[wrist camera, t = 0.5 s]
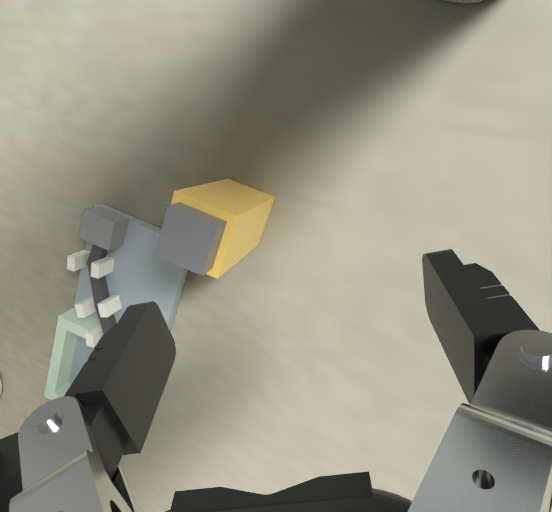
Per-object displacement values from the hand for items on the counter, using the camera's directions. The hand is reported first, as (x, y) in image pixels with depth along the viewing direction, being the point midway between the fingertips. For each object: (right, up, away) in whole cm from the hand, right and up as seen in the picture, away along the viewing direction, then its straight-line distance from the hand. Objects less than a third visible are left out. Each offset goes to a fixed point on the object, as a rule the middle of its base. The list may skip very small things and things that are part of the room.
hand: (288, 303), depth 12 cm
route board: (-14, -4, +25) cm, 29 cm away
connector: (-3, +5, +20) cm, 21 cm away
